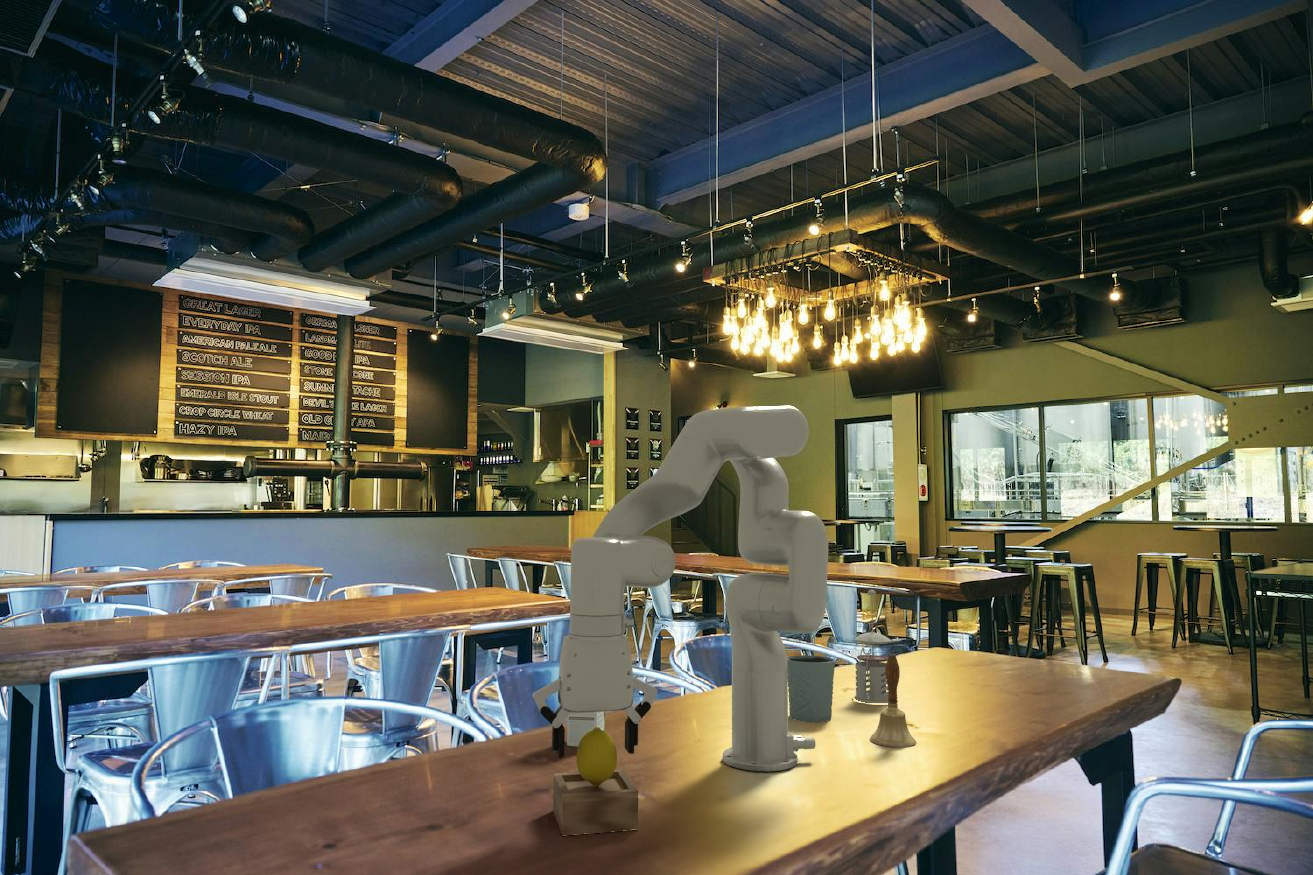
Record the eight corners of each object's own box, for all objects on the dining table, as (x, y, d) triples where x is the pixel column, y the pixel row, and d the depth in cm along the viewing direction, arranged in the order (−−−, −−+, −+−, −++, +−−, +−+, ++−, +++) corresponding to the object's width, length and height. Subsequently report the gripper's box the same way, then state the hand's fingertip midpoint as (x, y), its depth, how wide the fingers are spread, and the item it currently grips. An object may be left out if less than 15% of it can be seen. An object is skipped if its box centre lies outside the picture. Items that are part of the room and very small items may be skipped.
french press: (901, 699, 191) (899, 589, 194) (886, 709, 182) (883, 592, 184) (859, 694, 197) (858, 587, 199) (842, 703, 187) (841, 590, 189)
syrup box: (596, 748, 149) (598, 665, 151) (565, 746, 150) (566, 664, 152) (605, 740, 155) (606, 660, 156) (574, 738, 156) (575, 658, 157)
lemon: (576, 781, 117) (576, 722, 118) (615, 780, 117) (616, 722, 118) (576, 794, 111) (577, 732, 112) (617, 793, 112) (618, 732, 113)
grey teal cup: (781, 720, 171) (780, 660, 172) (792, 709, 180) (791, 653, 182) (830, 724, 167) (830, 663, 168) (839, 714, 177) (838, 656, 178)
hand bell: (924, 741, 155) (922, 654, 157) (903, 750, 149) (901, 659, 151) (883, 733, 161) (881, 649, 163) (861, 741, 155) (860, 654, 157)
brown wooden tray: (622, 804, 120) (623, 768, 120) (638, 830, 110) (638, 790, 110) (553, 810, 117) (553, 773, 118) (562, 836, 108) (563, 796, 108)
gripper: (650, 621, 122) (650, 742, 120) (531, 624, 118) (529, 749, 116) (663, 628, 115) (662, 757, 113) (537, 631, 110) (534, 765, 109)
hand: (595, 753), depth 115 cm, fingers open, 9 cm apart
